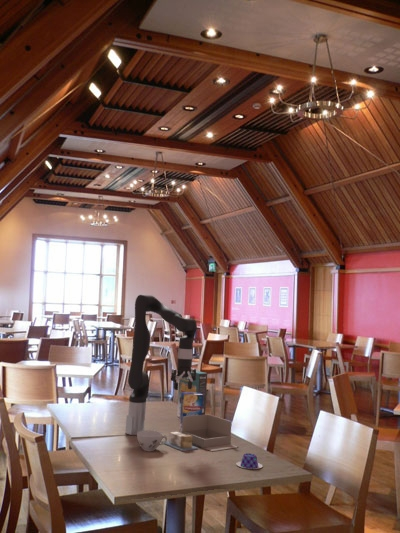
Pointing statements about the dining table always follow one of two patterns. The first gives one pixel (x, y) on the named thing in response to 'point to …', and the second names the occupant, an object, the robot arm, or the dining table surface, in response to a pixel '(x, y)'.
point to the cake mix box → (193, 389)
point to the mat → (179, 447)
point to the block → (180, 439)
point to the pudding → (249, 461)
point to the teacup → (150, 439)
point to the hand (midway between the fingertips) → (182, 389)
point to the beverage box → (190, 405)
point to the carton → (208, 432)
